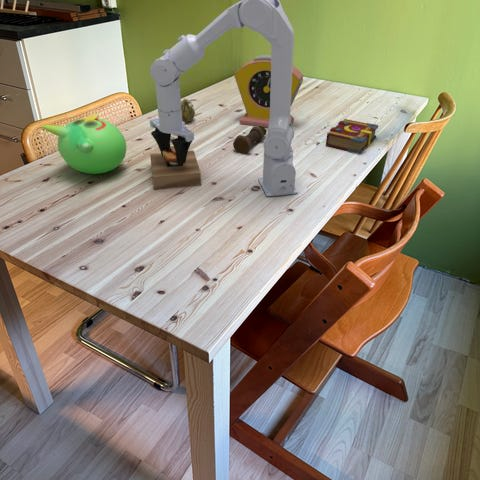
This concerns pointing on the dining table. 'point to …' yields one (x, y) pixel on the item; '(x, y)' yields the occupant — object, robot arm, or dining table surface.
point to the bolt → (249, 139)
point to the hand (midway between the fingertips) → (174, 159)
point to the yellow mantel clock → (260, 89)
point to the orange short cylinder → (170, 156)
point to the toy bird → (90, 144)
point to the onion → (187, 110)
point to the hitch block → (175, 172)
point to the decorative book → (351, 136)
